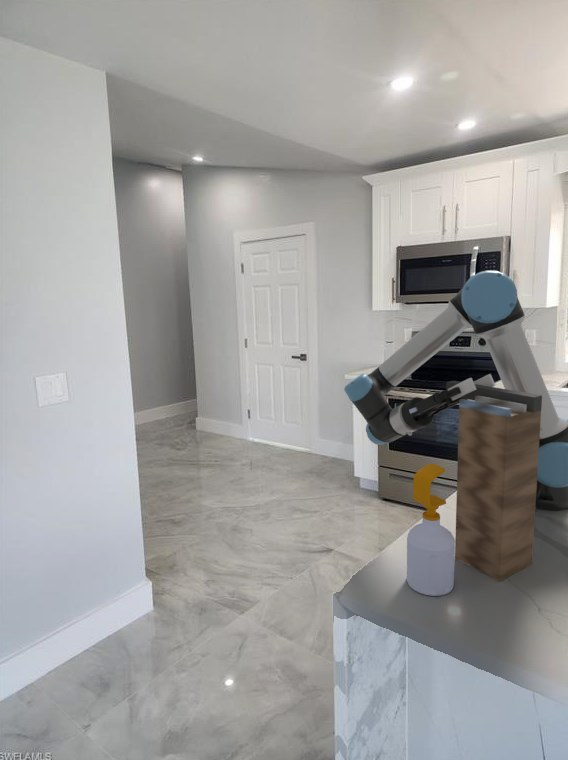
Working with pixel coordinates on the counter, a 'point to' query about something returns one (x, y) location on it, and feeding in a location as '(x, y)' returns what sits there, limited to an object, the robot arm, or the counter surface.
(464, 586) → the counter surface
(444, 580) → the soap bottle
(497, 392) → the bar
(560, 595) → the counter surface
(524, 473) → the wooden block tower
